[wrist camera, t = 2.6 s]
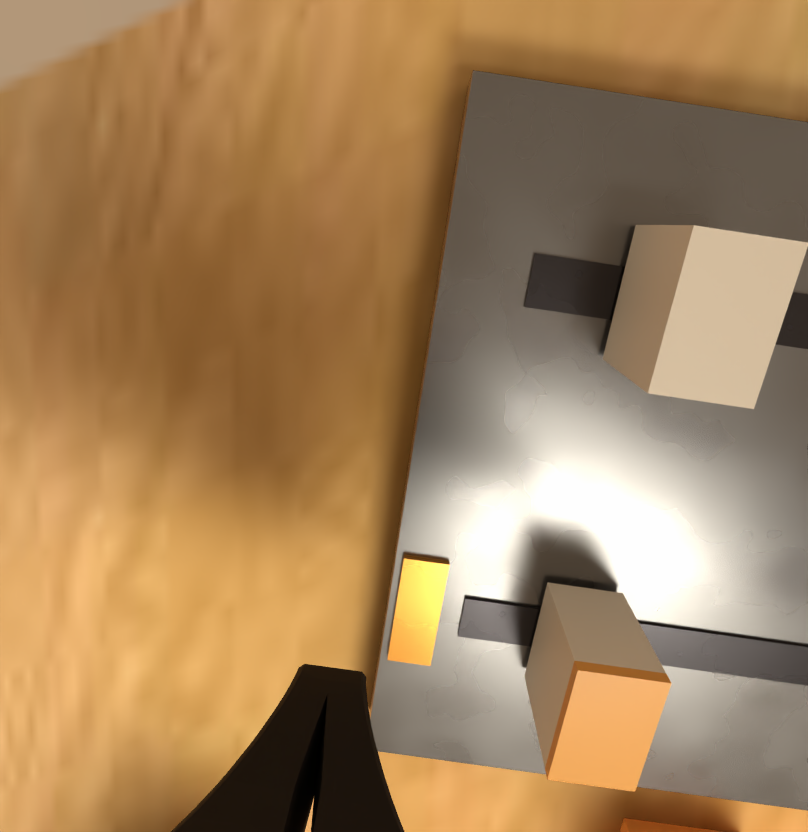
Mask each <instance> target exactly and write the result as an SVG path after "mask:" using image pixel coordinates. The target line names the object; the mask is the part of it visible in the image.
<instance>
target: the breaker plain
mask: <svg viewBox="0 0 808 832" xmlns="http://www.w3.org/2000/svg"><path fill="white" fill-rule="evenodd" d="M807 247H808V243H807V242H801V241H794V240H788V239H781V238H774V237H768V236H761V235H755V234H748V233H742V232H735V231H728V230H722V229H715V228H709V227H702V226H696V225H636V226H635V230H634V234H633V238H632V242H631V246H630V250H629V254H628V258H627V262H626V266H625V270H624V274H623V278H622V282H621V286H620V290H619V295H618V299H617V303H616V307H615V311H614V315H613V319H612V323H611V327H610V331H609V335H608V339H607V343H606V347H605V351H604V355H603V360H604V361H606V362H607V363H608V364H610V365H611V366H612V367H614V368H615V369H616V370H618V371H619V372H620V373H622V374H623V375H624V376H626V377H627V378H628V379H629V380H631V381H632V382H633V383H635V384H636V385H637V386H639V387H640V388H641V389H643V390H644V391H645V392H647V393H648V394H655V395H662V396H669V397H675V398H682V399H689V400H696V401H703V402H709V403H716V404H723V405H730V406H736V407H743V408H750V409H754V407H755V404H756V401H757V398H758V395H759V392H760V389H761V386H762V383H763V380H764V377H765V374H766V371H767V368H768V365H769V362H770V359H771V356H772V353H773V350H774V347H775V344H776V341H777V338H778V335H779V332H780V329H781V326H782V323H783V320H784V317H785V314H786V311H787V308H788V305H789V302H790V299H791V296H792V293H793V290H794V287H795V284H796V281H797V278H798V275H799V272H800V269H801V266H802V263H803V259H804V256H805V253H806V250H807Z"/></svg>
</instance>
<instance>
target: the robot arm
mask: <svg viewBox="0 0 808 832" xmlns="http://www.w3.org/2000/svg"><path fill="white" fill-rule="evenodd" d="M313 798H314V804H313V815H312V827H311V832H404V830H403V827H402V825H401V822H400V820H399V817H398V814H397V812H396V809H395V806H394V804H393V801H392V798H391V795H390V792H389V789H388V786H387V783H386V780H385V776H384V773H383V770H382V766H381V763H380V759H379V755H378V751H377V747H376V743H375V739H374V735H373V731H372V726H371V721H370V715H369V709H368V702H367V693H366V676H365V675H364V674H363V672H360V671H352V670H345V669H338V668H330V667H323V666H316V665H308V664H304V665H302V666H301V667H299V669H298V671H297V673H296V675H295V677H294V679H293V681H292V683H291V685H290V686H289V688H288V690H287V692H286V693H285V695H284V697H283V698H282V700H281V701H280V703H279V704H278V706H277V707H276V709H275V711H274V712H273V713H272V715H271V716H270V718H269V719H268V721H267V722H266V723H265V725H264V726H263V728H262V729H261V730H260V732H259V733H258V735H257V736H256V737H255V739H254V740H253V741H252V743H251V744H250V745H249V746H248V748H247V749H246V750H245V751H244V753H243V754H242V755H241V756H240V758H239V759H238V760H237V761H236V763H235V764H234V765H233V766H232V768H231V769H230V770H229V771H228V772H227V774H226V775H225V776H224V777H223V778H222V779H221V780H220V782H219V783H218V784H217V785H216V786H215V787H214V788H213V789H212V791H211V792H210V793H209V794H208V795H207V796H206V797H205V798H204V799H203V800H202V801H201V802H200V803H199V804H198V805H197V807H196V808H195V809H194V810H193V811H192V812H191V813H190V814H189V815H188V816H187V817H186V818H185V819H183V820H182V821H181V822H180V823H179V824H178V825H177V826H176V827H175V828H174V829H173V830H172V831H171V832H305V828H306V824H307V821H308V817H309V813H310V810H311V806H312V802H313Z"/></svg>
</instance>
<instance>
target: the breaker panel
mask: <svg viewBox="0 0 808 832" xmlns="http://www.w3.org/2000/svg"><path fill="white" fill-rule="evenodd" d="M636 225H696V226H702V227H709V228H715V229H722V230H728V231H735V232H742V233H748V234H755V235H761V236H768V237H774V238H781V239H788V240H794V241H801V242H807V243H808V122H803V121H797V120H790V119H784V118H777V117H771V116H764V115H758V114H751V113H745V112H738V111H732V110H726V109H719V108H713V107H706V106H700V105H693V104H687V103H680V102H674V101H667V100H661V99H655V98H648V97H642V96H635V95H629V94H622V93H616V92H609V91H603V90H597V89H590V88H584V87H577V86H571V85H564V84H558V83H551V82H545V81H538V80H532V79H526V78H519V77H513V76H506V75H500V74H493V73H487V72H480V71H474V70H473V72H472V75H471V78H470V81H469V84H468V89H467V95H466V102H465V108H464V114H463V121H462V127H461V133H460V140H459V146H458V153H457V159H456V165H455V172H454V178H453V184H452V191H451V197H450V203H449V210H448V216H447V222H446V229H445V235H444V242H443V248H442V254H441V261H440V267H439V273H438V280H437V286H436V292H435V299H434V305H433V311H432V318H431V324H430V331H429V337H428V343H427V350H426V356H425V362H424V369H423V375H422V381H421V388H420V394H419V400H418V407H417V413H416V420H415V426H414V432H413V439H412V445H411V451H410V458H409V464H408V470H407V477H406V483H405V489H404V496H403V502H402V509H401V515H400V521H399V528H398V534H397V540H396V547H395V553H394V559H393V566H392V572H391V578H390V585H389V591H388V598H387V604H386V610H385V617H384V623H383V629H382V636H381V642H380V648H379V655H378V661H377V667H376V674H375V680H374V687H373V693H372V699H371V706H370V712H369V715H370V721H371V726H372V731H373V735H374V739H375V743H376V747H377V751H380V752H387V753H395V754H402V755H409V756H416V757H424V758H431V759H438V760H445V761H453V762H460V763H467V764H474V765H482V766H489V767H496V768H504V769H511V770H518V771H525V772H533V773H540V774H546V771H545V767H544V762H543V758H542V753H541V749H540V744H539V740H538V735H537V731H536V726H535V722H534V717H533V713H532V709H531V704H530V700H529V695H528V691H527V686H526V682H525V677H524V675H525V671H526V667H527V663H528V659H529V655H530V651H531V647H532V643H533V639H534V635H535V631H536V627H537V623H538V619H539V615H540V610H541V606H542V602H543V598H544V594H545V590H546V586H547V582H548V583H555V584H562V585H569V586H576V587H583V588H590V589H597V590H604V591H611V592H618V593H623V594H624V596H625V598H626V600H627V602H628V604H629V605H630V607H631V609H632V611H633V613H634V615H635V617H636V618H637V620H638V622H639V624H640V626H641V628H642V629H643V631H644V633H645V635H646V637H647V639H648V641H649V642H650V644H651V646H652V648H653V650H654V652H655V654H656V655H657V657H658V659H659V661H660V663H661V665H662V667H663V668H664V670H665V672H666V674H667V676H668V678H669V680H670V681H671V683H672V684H671V687H670V690H669V693H668V696H667V699H666V702H665V705H664V708H663V711H662V713H661V716H660V719H659V722H658V725H657V728H656V731H655V734H654V737H653V740H652V743H651V746H650V749H649V752H648V755H647V758H646V761H645V764H644V767H643V770H642V773H641V776H640V779H639V782H638V785H637V787H641V788H649V789H656V790H663V791H670V792H678V793H685V794H692V795H700V796H707V797H714V798H721V799H729V800H736V801H743V802H750V803H758V804H765V805H772V806H779V807H787V808H794V809H801V810H808V247H807V250H806V253H805V256H804V259H803V263H802V266H801V269H800V272H799V275H798V278H797V281H796V284H795V287H794V290H793V293H792V296H791V299H790V302H789V305H788V308H787V311H786V314H785V317H784V320H783V323H782V326H781V329H780V332H779V335H778V338H777V341H776V344H775V347H774V350H773V353H772V356H771V359H770V362H769V365H768V368H767V371H766V374H765V377H764V380H763V383H762V386H761V389H760V392H759V395H758V398H757V401H756V404H755V407H754V409H750V408H743V407H736V406H730V405H723V404H716V403H709V402H703V401H696V400H689V399H682V398H675V397H669V396H662V395H655V394H648V393H647V392H645V391H644V390H643V389H641V388H640V387H639V386H637V385H636V384H635V383H633V382H632V381H631V380H629V379H628V378H627V377H626V376H624V375H623V374H622V373H620V372H619V371H618V370H616V369H615V368H614V367H612V366H611V365H610V364H608V363H607V362H606V361H604V360H603V355H604V351H605V347H606V343H607V339H608V335H609V331H610V327H611V323H612V319H613V315H614V311H615V307H616V303H617V299H618V295H619V290H620V286H621V282H622V278H623V274H624V270H625V266H626V262H627V258H628V254H629V250H630V246H631V242H632V238H633V234H634V230H635V226H636Z"/></svg>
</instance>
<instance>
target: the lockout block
mask: <svg viewBox="0 0 808 832" xmlns="http://www.w3.org/2000/svg"><path fill="white" fill-rule="evenodd" d="M619 832H723V831H716V830H708V829H701V828H694V827H686V826H679V825H672V824H664V823H657V822H650V821H642V820H635V819H628V818H624V819H623V822H622V825H621V828H620V831H619Z"/></svg>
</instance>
